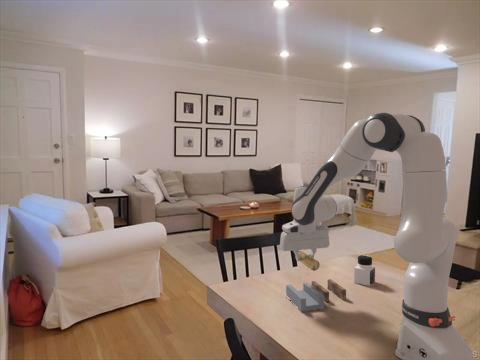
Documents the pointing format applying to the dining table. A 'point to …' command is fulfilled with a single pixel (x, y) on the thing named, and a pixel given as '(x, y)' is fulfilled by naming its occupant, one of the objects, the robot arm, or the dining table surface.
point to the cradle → (306, 297)
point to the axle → (308, 261)
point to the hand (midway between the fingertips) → (305, 259)
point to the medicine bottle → (364, 271)
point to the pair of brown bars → (332, 287)
